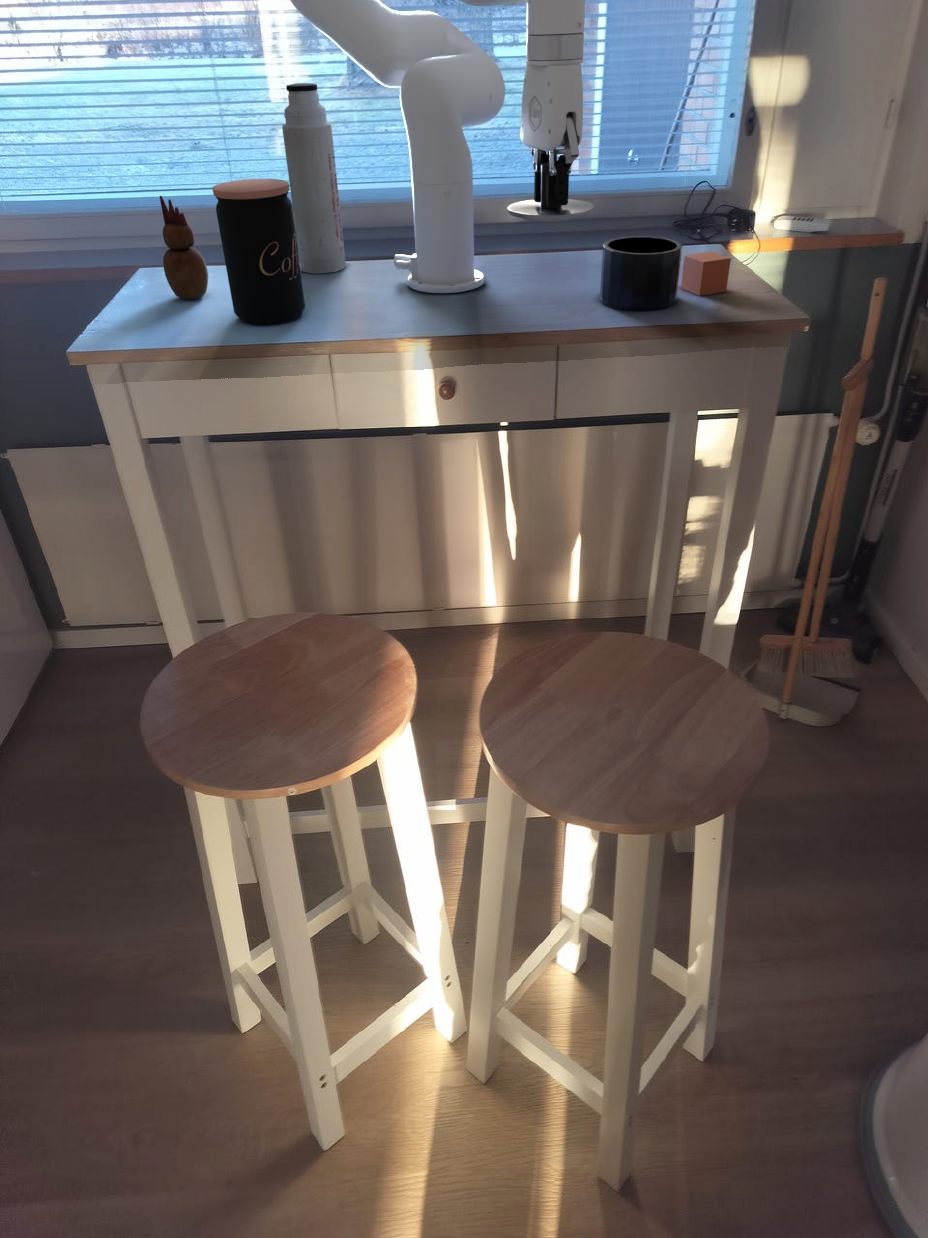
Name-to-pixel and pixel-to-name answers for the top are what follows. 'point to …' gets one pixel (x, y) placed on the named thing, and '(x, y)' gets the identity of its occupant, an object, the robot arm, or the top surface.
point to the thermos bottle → (313, 181)
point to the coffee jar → (260, 250)
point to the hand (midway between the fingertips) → (550, 201)
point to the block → (705, 273)
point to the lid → (544, 212)
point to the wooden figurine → (182, 256)
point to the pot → (640, 273)
